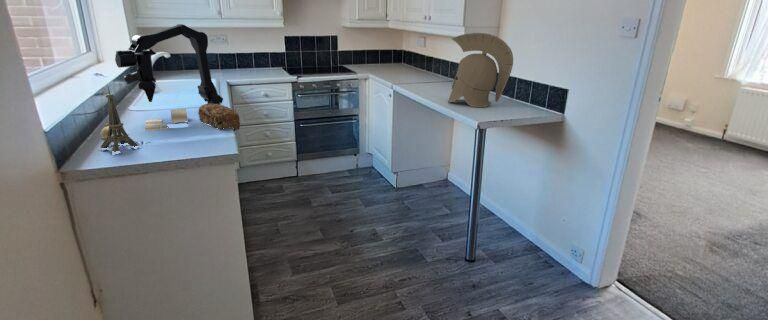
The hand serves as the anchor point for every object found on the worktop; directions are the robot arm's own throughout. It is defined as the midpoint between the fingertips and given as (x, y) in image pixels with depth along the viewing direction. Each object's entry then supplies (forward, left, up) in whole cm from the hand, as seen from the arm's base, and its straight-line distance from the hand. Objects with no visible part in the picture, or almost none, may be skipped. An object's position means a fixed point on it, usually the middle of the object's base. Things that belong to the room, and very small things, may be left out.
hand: (150, 101), depth 191 cm
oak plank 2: (+2, +11, -8) cm, 13 cm away
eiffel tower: (+32, -11, -11) cm, 36 cm away
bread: (+14, +27, -11) cm, 32 cm away
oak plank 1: (+2, 0, -10) cm, 11 cm away
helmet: (+14, +168, -11) cm, 169 cm away
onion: (+19, -14, -11) cm, 27 cm away
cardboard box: (+11, +5, -11) cm, 16 cm away
